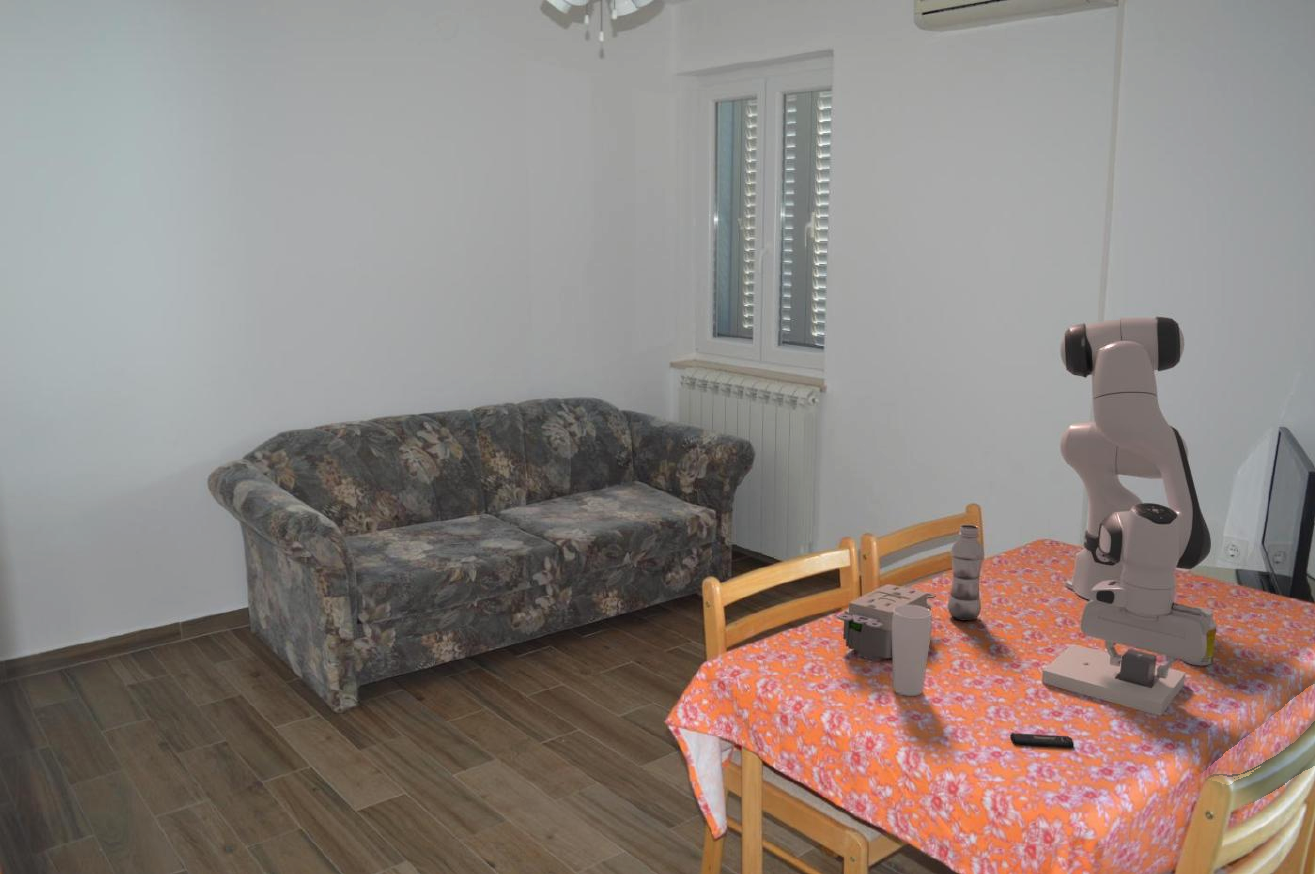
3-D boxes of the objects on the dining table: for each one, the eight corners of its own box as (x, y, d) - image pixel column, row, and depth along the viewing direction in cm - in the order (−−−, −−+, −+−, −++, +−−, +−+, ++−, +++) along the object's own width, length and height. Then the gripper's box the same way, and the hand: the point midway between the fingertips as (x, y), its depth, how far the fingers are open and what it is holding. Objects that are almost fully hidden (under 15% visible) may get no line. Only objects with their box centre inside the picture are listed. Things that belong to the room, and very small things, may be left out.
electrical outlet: (825, 657, 194) (828, 606, 192) (888, 622, 216) (891, 577, 215) (882, 673, 187) (886, 620, 185) (941, 635, 209) (945, 588, 208)
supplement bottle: (1218, 666, 192) (1224, 615, 190) (1189, 667, 192) (1195, 615, 190) (1201, 654, 197) (1207, 604, 195) (1173, 655, 197) (1179, 605, 195)
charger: (1126, 679, 185) (1129, 648, 184) (1153, 686, 182) (1156, 655, 181) (1118, 688, 182) (1121, 656, 180) (1146, 695, 179) (1149, 663, 177)
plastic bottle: (983, 623, 212) (990, 531, 208) (951, 623, 212) (957, 531, 208) (975, 612, 219) (981, 523, 215) (943, 612, 219) (949, 522, 215)
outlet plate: (1071, 655, 197) (1072, 643, 196) (1184, 684, 184) (1185, 671, 184) (1041, 682, 185) (1042, 669, 184) (1160, 715, 172) (1161, 702, 172)
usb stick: (1012, 747, 162) (1013, 738, 162) (1008, 739, 165) (1009, 730, 164) (1074, 751, 161) (1075, 742, 161) (1069, 743, 164) (1070, 734, 163)
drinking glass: (920, 702, 176) (925, 621, 174) (882, 693, 180) (887, 613, 177) (932, 688, 182) (937, 608, 179) (895, 679, 186) (899, 601, 183)
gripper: (1216, 606, 174) (1207, 681, 177) (1092, 579, 187) (1085, 650, 190) (1207, 616, 170) (1198, 693, 172) (1081, 588, 182) (1074, 660, 185)
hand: (1138, 670), depth 181 cm, fingers open, 6 cm apart
